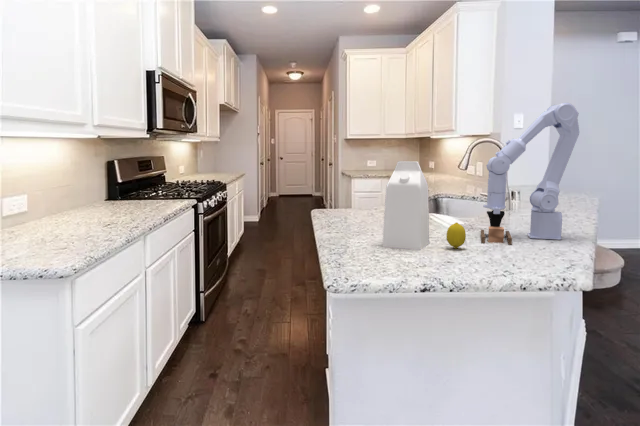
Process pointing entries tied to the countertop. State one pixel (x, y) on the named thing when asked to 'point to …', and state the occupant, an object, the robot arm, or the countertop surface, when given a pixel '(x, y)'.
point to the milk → (406, 208)
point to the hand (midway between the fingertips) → (494, 232)
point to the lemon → (456, 235)
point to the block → (496, 234)
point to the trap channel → (507, 236)
